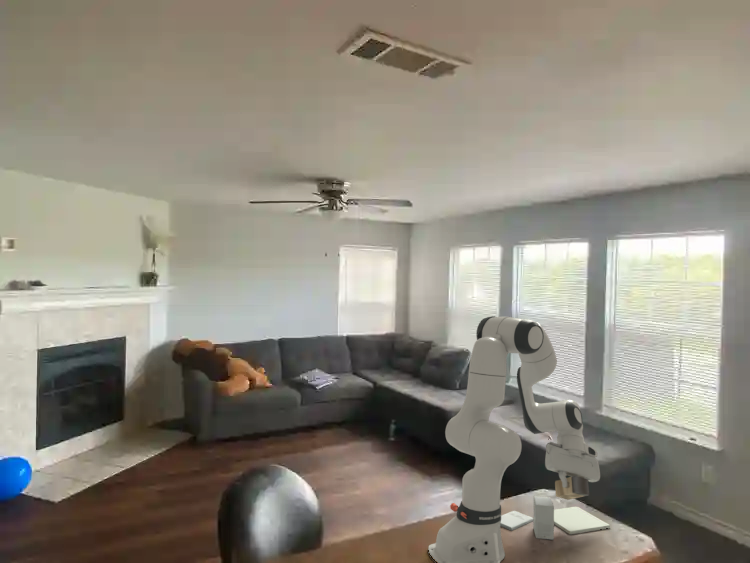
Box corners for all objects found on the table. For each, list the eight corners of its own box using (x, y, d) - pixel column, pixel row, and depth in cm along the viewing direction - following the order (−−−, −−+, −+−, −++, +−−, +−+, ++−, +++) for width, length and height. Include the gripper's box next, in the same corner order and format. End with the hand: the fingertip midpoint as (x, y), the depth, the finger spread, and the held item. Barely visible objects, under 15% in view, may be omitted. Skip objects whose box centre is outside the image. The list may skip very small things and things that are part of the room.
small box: (553, 540, 168) (554, 506, 168) (535, 538, 169) (535, 504, 170) (550, 529, 176) (551, 497, 176) (533, 527, 177) (533, 495, 177)
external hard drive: (491, 523, 181) (513, 514, 189) (511, 532, 175) (533, 522, 183) (491, 519, 181) (513, 509, 189) (511, 527, 175) (533, 517, 183)
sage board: (570, 534, 173) (570, 531, 173) (539, 514, 188) (539, 511, 188) (609, 528, 178) (610, 525, 178) (576, 509, 193) (577, 506, 193)
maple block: (555, 496, 179) (576, 491, 171) (554, 481, 182) (575, 475, 174) (567, 499, 180) (589, 495, 173) (566, 484, 183) (587, 479, 175)
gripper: (552, 438, 178) (554, 480, 171) (601, 453, 184) (605, 495, 176) (540, 442, 183) (541, 484, 176) (588, 456, 189) (591, 498, 181)
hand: (574, 489), depth 176 cm, fingers closed on maple block, 5 cm apart
